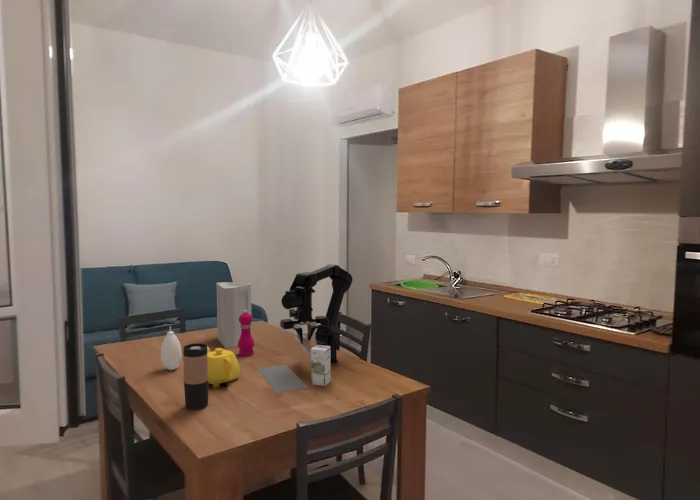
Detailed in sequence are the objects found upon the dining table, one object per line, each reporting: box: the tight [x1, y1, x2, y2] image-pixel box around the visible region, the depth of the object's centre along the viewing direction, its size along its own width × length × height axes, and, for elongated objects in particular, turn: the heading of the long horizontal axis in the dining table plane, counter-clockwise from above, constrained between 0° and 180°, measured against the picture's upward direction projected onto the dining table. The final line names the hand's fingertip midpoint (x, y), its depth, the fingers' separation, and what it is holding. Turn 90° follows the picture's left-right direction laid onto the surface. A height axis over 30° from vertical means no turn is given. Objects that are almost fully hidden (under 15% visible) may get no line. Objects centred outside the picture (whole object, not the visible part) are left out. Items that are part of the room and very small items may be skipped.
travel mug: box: [182, 343, 209, 411], centre depth 162 cm, size 8×8×20 cm
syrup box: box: [310, 344, 332, 387], centre depth 181 cm, size 6×6×14 cm
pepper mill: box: [237, 310, 255, 357], centre depth 219 cm, size 7×7×20 cm
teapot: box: [207, 345, 241, 389], centre depth 186 cm, size 14×20×13 cm
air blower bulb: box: [160, 325, 183, 371], centre depth 199 cm, size 8×8×18 cm
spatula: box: [294, 332, 315, 357], centre depth 195 cm, size 5×24×3 cm, turn 23°
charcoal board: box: [256, 364, 309, 393], centre depth 187 cm, size 12×28×1 cm, turn 24°
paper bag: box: [216, 281, 253, 349], centre depth 240 cm, size 19×15×28 cm
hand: (304, 343), depth 197 cm, fingers closed on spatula, 2 cm apart
